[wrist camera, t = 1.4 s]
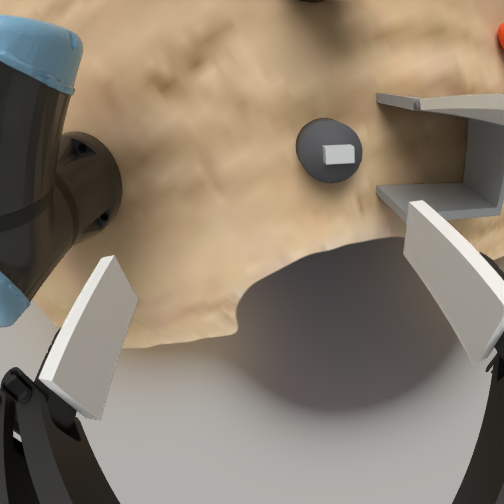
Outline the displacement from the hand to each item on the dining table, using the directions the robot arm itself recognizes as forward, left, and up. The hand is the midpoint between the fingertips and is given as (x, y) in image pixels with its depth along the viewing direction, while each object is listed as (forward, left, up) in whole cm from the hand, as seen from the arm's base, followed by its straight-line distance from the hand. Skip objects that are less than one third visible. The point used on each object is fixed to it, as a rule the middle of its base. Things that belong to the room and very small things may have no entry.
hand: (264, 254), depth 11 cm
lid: (+24, +6, -7) cm, 25 cm away
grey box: (+23, -1, -23) cm, 32 cm away
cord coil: (+8, -1, -23) cm, 24 cm away
